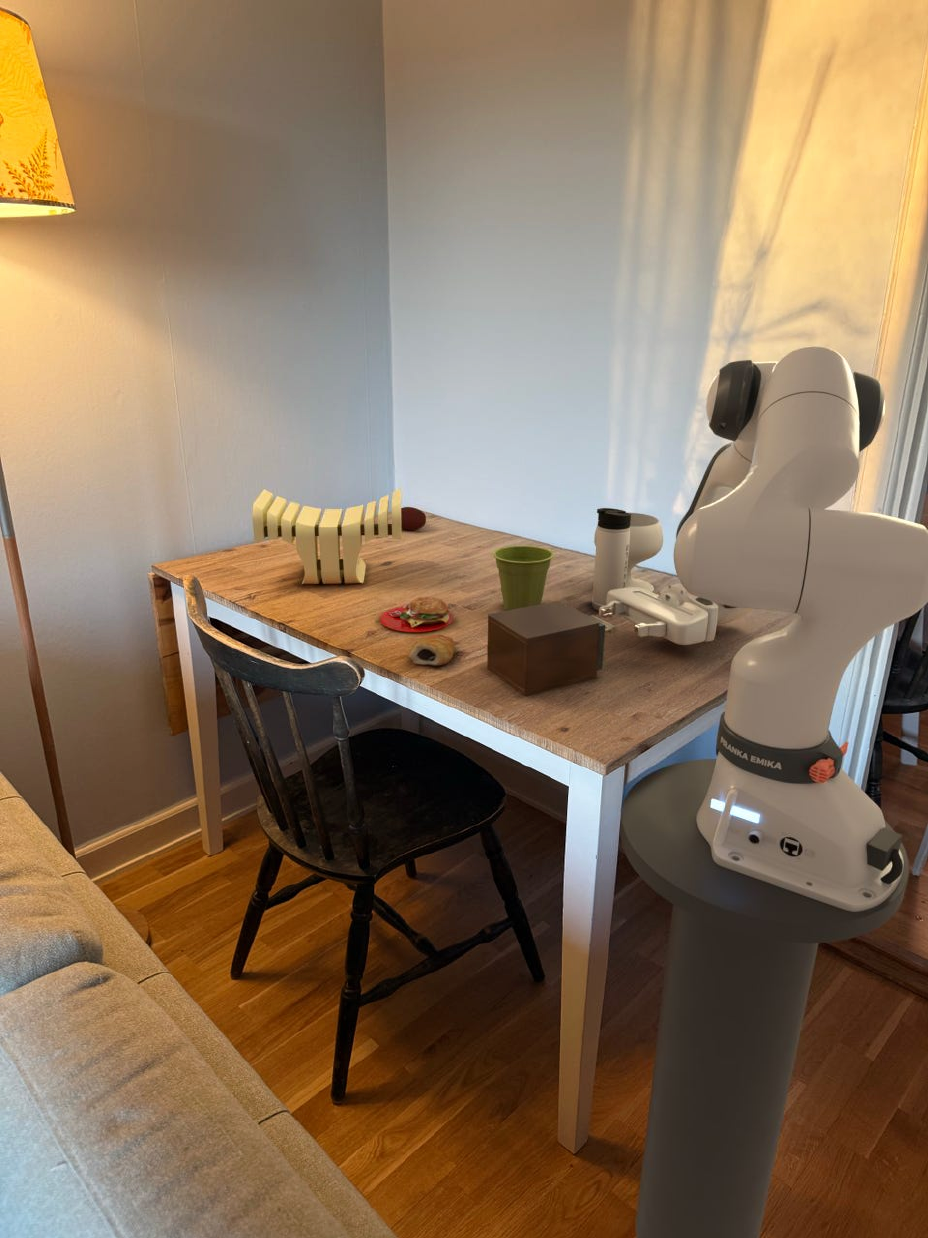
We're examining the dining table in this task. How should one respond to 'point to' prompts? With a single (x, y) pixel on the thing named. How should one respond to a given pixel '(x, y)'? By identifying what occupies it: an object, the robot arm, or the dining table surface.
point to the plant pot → (522, 574)
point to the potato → (412, 518)
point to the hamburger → (418, 615)
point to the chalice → (642, 545)
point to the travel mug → (610, 553)
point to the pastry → (433, 650)
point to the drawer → (601, 637)
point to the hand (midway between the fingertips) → (618, 621)
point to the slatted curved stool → (326, 534)
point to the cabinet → (542, 647)
